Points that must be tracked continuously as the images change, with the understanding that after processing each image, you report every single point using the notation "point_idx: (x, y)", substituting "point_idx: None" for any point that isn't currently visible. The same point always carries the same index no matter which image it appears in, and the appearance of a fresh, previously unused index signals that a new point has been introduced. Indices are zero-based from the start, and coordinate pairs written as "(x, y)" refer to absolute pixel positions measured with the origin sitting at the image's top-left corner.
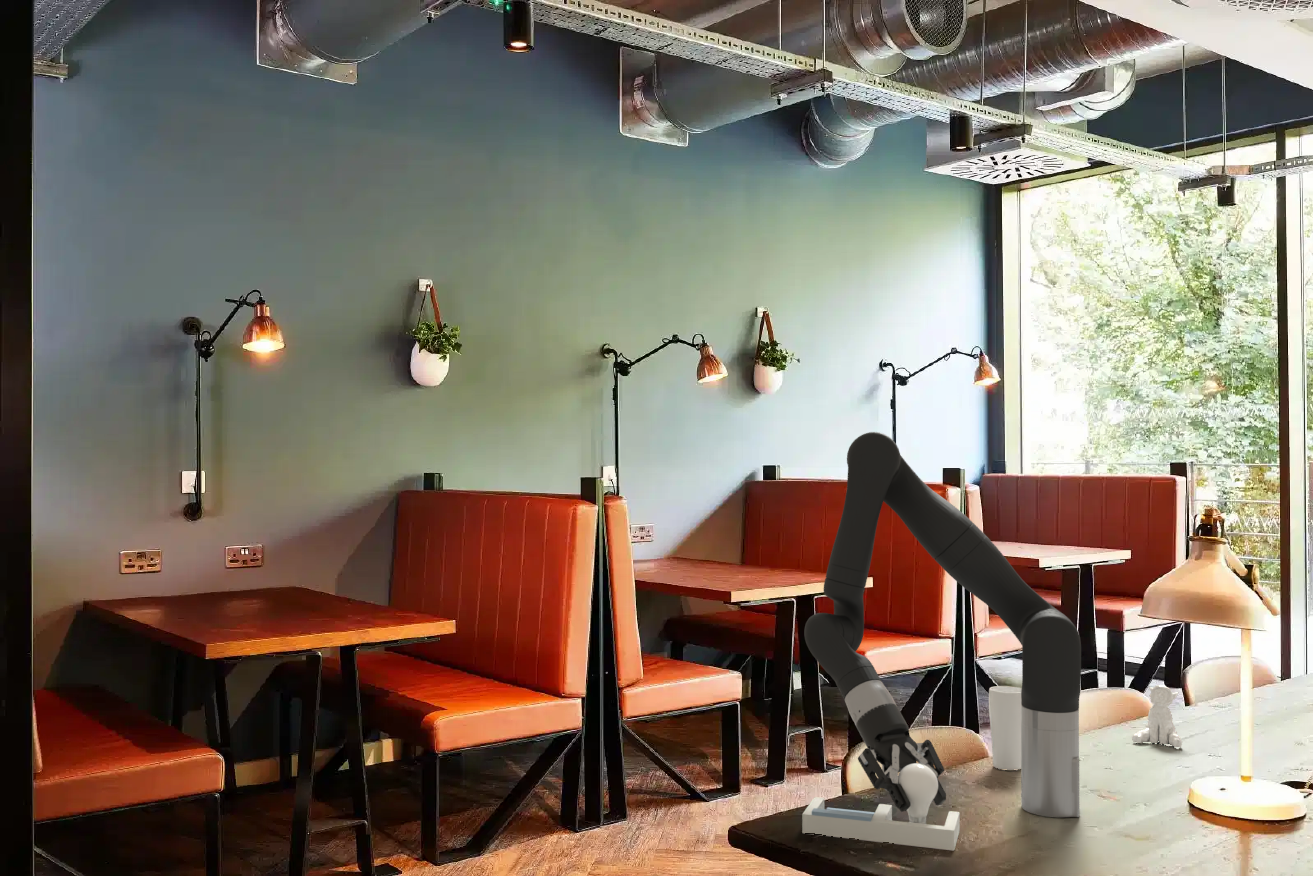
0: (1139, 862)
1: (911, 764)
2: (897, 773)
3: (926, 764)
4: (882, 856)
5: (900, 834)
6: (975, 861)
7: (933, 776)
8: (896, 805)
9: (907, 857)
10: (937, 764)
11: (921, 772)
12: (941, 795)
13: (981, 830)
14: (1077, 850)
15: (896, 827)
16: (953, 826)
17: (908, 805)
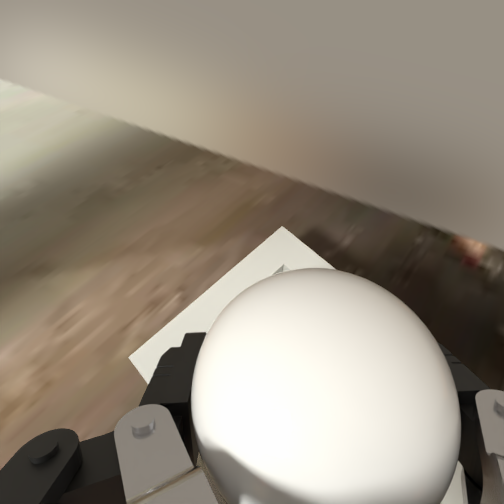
0: (26, 99)
1: (391, 408)
2: (488, 450)
3: (155, 488)
4: (478, 295)
5: None
6: (278, 192)
7: (270, 277)
8: None
9: (414, 265)
10: (29, 492)
11: (359, 283)
12: (203, 338)
13: (86, 348)
14: (45, 163)
15: None
16: (259, 251)
17: None
